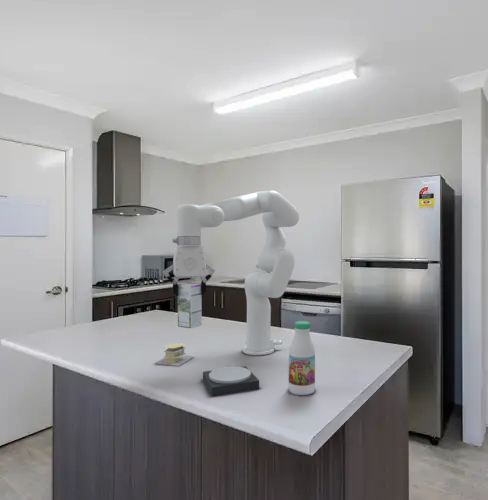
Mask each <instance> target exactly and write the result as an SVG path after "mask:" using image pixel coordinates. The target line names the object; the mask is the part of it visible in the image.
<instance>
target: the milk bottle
mask: <svg viewBox="0 0 488 500" xmlns="http://www.w3.org/2000/svg"><path fill="white" fill-rule="evenodd" d="M293 327H294V335H293V339H292V340H291V343H290V346H289V349H288V350H289V351H288V391H289V392H290V393H291V394H292V395H296V396H308V395H311V394H313V393H314V392H315V390H316V350H315V345H314V343H313V340H312V338H311V335H310V330H311V322H310V321H305V320H298V321H295V322H294V323H293Z"/></svg>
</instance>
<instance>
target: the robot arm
mask: <svg viewBox="0 0 488 500" xmlns="http://www.w3.org/2000/svg"><path fill="white" fill-rule="evenodd" d="M261 214H262V217H261V218H262V223H263V225H264V228H265V232H266V236H265V237H266V238H265V241H264V243H263V245H262V248H261V250H260V252H259V255H258V257H257V262H256V264H257V267H258V269H259V270H261V271H254V272H250V273H248V274H247V276H246V277H245V280H244V284H243V285H244V292H245V298H246V345H245V346H243V347H242V353H244V354H246V355H250V356H265V355H270V354H272V353H274V352H275V346H282V345H283V341H282V339H273V338H271V331H272V330H271V325H272V324H271V322H272V321H271V319H272V318H271V317H272V315H271V313H272V306H271V302H270V298H271V299H278V298H280V297H282V296H283V295H284V293H285V292H286V290H287V287H288V284H289V281H290V279H291V276H292V274H293V270H294V268H295V263H296V262H295V256H294V253H293V252H292V251H291V250H290V249H287V248H285V247H286V244H287V238H286V235H285V233H284V230H283V228H291V227H295V226H296V225H297V224H298V222H299V220H300V213H299V211H298V209H297V208H296V206H295V205H293V203H291V202H290V201H289V200H288V199H287V198H286V197H285V196H284V195H283V194H281V193H279V192H278V191H276V190H273V189H272V190H262V191H261V190H260V191H255V192H251V193H247V194H242V195H238V196H234V197H230V198H226V199H223V200H222V199H221V200H217V201H214V202H208V203H205V204H201V205H197V204H192V203H183V204H178V206H177V207H176V237H175V238H172V239H171V240H172V244H174V243H175V244H176V246H174V251H173V258H172V259H173V260H172V264H171V265H170V266H169V267H167V268H165V269H164V270H163V271H162V274H163V276H164V277H165V278H166V279H167V280H168V281H169V282H170V283H171V284H172V295H174V296H175V297H176V298H178V281H179V279H180V278H192V277H193V278H195V277H199V279H200V283H201V294H202V296H205V293H207V282H209V280H210V279H211V278H212V276H213V275H214V274H215V271H216V269H214V268H212V267H211V266H210V265H208V264H206V253H205V248H204V245H202V235H201V234H202V231H201V229H202V228H216V227H219V226H220V225H222V224H223V223H224V222H232V221H239V220H243V219H247V218H250V217H253V216H256V215H261ZM207 271H208V273H207ZM170 272H172V273H173V274H172V275H174V277H172V276H171V275H170V274H169V273H170Z"/></svg>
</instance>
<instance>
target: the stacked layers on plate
mask: <svg viewBox="0 0 488 500" xmlns="http://www.w3.org/2000/svg"><path fill="white" fill-rule="evenodd" d="M185 345H186V344H185V343H181V342H179V343H176V342H175V343H169V344H167V345H166V346H164V348H165V350H164V351H163V352H164V354H165V356H164V357H163V358H164V359H162V360H160V361H158V362H156V365H165V366H177V367H179V366H181V365H183V364H185V363H186V362H188V361H189V360H191V359H192V358H193V357H192V356H185V355H186V352H185V350H186V347H185Z"/></svg>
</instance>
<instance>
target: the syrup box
mask: <svg viewBox="0 0 488 500" xmlns="http://www.w3.org/2000/svg"><path fill="white" fill-rule="evenodd" d="M177 284H178V296H177V327H178V328H183V329H185V328H186V329H194V328H195V329H196V328H198V327H200V326H202V325H203V318H202V317H203V316H202V315H203V313H202V312H203V311H202V309H203V307H202V304H203V303H202V296H203V295H202V294H201V282H198V281H197V282H195V281H182V282H179V283H178V282H177Z"/></svg>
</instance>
